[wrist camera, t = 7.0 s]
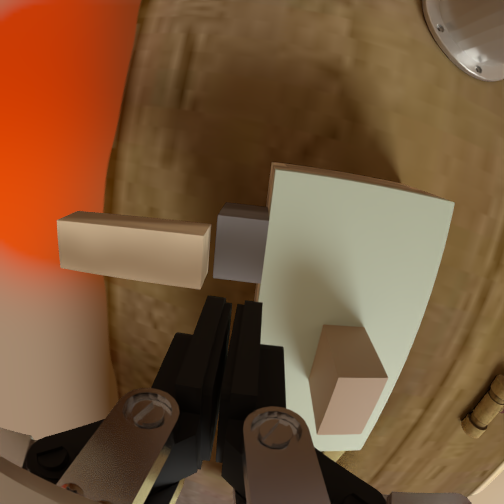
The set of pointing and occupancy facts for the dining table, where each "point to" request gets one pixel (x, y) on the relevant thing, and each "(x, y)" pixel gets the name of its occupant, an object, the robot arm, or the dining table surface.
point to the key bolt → (135, 248)
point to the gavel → (485, 409)
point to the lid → (346, 294)
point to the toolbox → (261, 229)
